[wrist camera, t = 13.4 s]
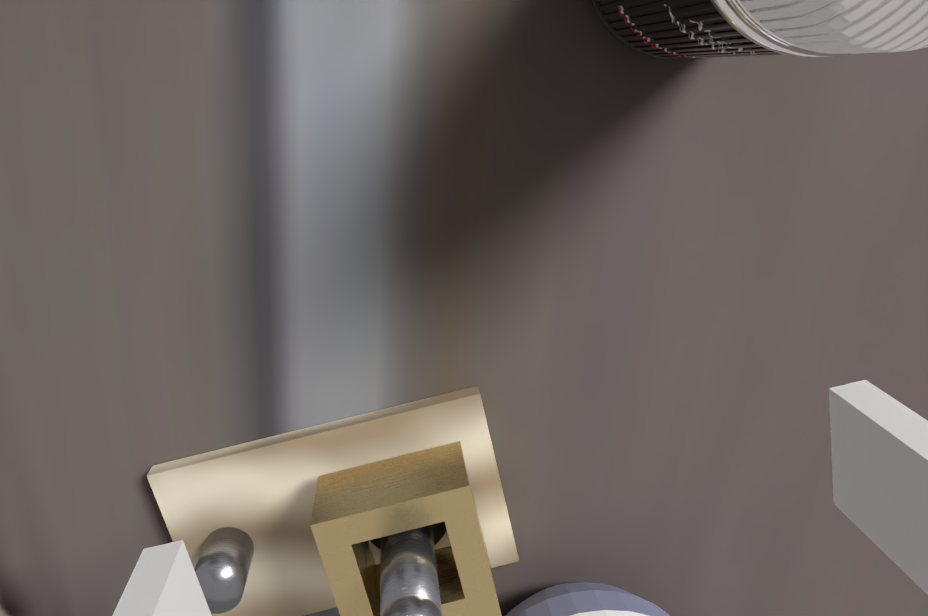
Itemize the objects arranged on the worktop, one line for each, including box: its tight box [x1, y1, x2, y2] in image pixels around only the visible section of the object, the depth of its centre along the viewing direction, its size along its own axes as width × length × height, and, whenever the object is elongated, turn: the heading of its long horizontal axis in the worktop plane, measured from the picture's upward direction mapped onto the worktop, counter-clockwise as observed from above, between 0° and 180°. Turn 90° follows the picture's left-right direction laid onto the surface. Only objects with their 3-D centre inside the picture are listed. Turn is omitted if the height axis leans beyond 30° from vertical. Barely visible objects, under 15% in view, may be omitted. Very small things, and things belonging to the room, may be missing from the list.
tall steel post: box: [370, 521, 447, 616], centre depth 41 cm, size 5×5×12 cm
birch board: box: [147, 386, 519, 616], centre depth 47 cm, size 12×20×1 cm, turn 103°
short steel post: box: [194, 527, 254, 614], centre depth 44 cm, size 3×3×4 cm
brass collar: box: [310, 441, 502, 616], centre depth 43 cm, size 8×8×5 cm
